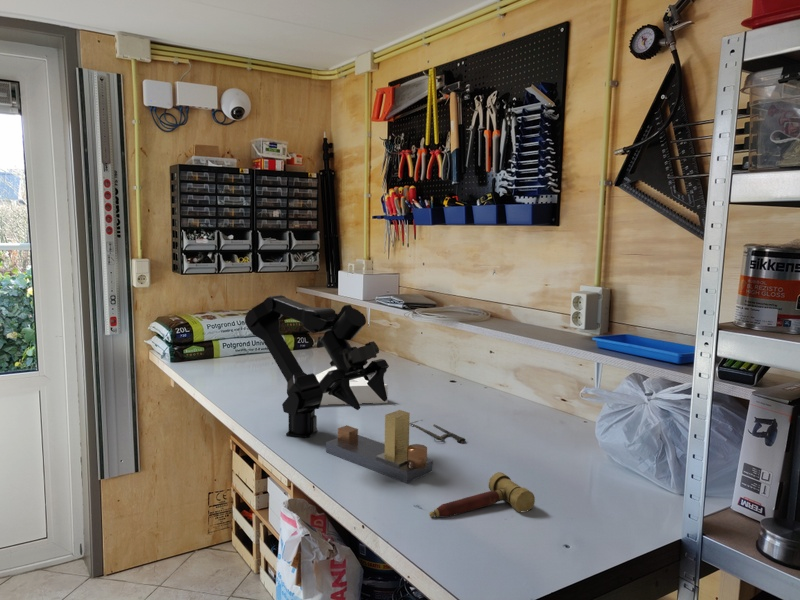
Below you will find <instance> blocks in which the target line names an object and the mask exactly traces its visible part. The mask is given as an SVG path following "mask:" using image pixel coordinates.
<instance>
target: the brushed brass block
mask: <svg viewBox="0 0 800 600" xmlns="http://www.w3.org/2000/svg"><path fill="white" fill-rule="evenodd" d="M384 417H385V418H384V444H385V458H388V459H390V460H393V461H396V460H398V459H400V458H403V457H405V456H407V447H408V446H409V445H410V424H409V423H410V417H411V416H410V412H407V411H404V410H401V409H399V410H396V411H393V412H389V413H386V414H385V416H384Z"/></svg>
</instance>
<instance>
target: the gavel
mask: <svg viewBox="0 0 800 600" xmlns="http://www.w3.org/2000/svg"><path fill="white" fill-rule="evenodd" d="M488 489H489V491H485V492H482V493H478V494H474V495H471V496H470V495H469V496H468V497H463V498H460V499H457V500H453V501H449V502H446V503H442V504H441V505H439V506H437V508H434V510H433V511H430V512H429V513H428V514H429V516H430V518H434V517H435V516H437V517H436V518H440V517H439V516H449V517H451V516H450V515H453V516H455V515H454V514H457V515H459V513H460V514H463V512H464V513H467V512H470V511H473V510H477V509H480V508H484V507H488V506H492V505H494V504H497V503H498V502H502V501H506V502H507V503H508V504H510V505H511V508H512V509H514V510H516V511H517V512H518V513H522V512H521V511H526V512H528V511H527V510H530V509H531V510H532V509H533V507H534V505H535V502H536V501H535V500H536V497H535V494H534V493H533V492H532V491H530V490H529V489H528V488H526V487H522V486H520V485H519V484H517V483H516V482H514V481H513V480H512V479H511V478H510V476H508V475H506V474H505V473H504V472H500V471H499V472H496V473H494V474H493V475H492V476H491V477H490V478H489V481H488ZM531 510H530V511H531Z"/></svg>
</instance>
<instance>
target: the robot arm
mask: <svg viewBox="0 0 800 600" xmlns="http://www.w3.org/2000/svg"><path fill="white" fill-rule="evenodd" d="M283 316H285V317H287V318H289V319H292V320H295V321H297V322H299V323H301V324H302V327H303V328H304V329H305V330H306V331H308V332H310V333H311V334H319V333H324V334H323V335H321V336H318V337H317V338H318V339H317V343H316V348H317V349H320V348H324V349H325V351H326V352H327V354H328V356H329V357H330V359H331V361H330V362H329V365H330V366H331V367H336V368H337V369H336V370H332V371H329V372H328V373H327V374H326V375H325V376H324V378H323V379H322V380H321V381H320V383H319V382H318V380H317V378H316V376H315V375H316V374H314V373H308V374H307V373H306V372H304V370H303V368H302V366H300V364H299V362H298V360H297V358H296V357H295V355H294V354H293V352H292V350H291V348H290V347H289V346H288V344H287V341H286V340H285V338H284V337H283V335H282V334H281V332H280V325H281V321H280V319H281V318H282V317H283ZM244 322H245V325H246V327H247V328H248V329H249V331H250V332H251V334H252V335H253V336H255V337H257V338H259V340H262V341H263V342H264V344H265V346H266V347H267V349H268V351H269V353H270V355H271V356H272V358H273V360H274V361H275V363H276V365H277V367H278V369H279V371H280V372H281V374H282V376H283V377H284V379H285V380H286V383H287V384H286V385H287V386H286V394H287V398H286V399H285V400H284V401H283V402H282V404H281V405H282V410H283V413H285V414H288V431H287V432H285V436H288V437H289V436H290V437H298V438H310V437H311V436H313V434H315V432H317V430H318V427H317V423H318V422H317V420H318V419H317V415H315V414H316V412H315V410H319V409H320V408H321V407H320V406H321V405H320V404H321V401H322V397H323V393H328V392H329V393H328V394H329V395H333V396H335V397H337V398H338V399H340V400H342V401H344V402H345V403H347V404H346V405H348V406H350V407H351V408H353V409H354V410H356V411H359V410H360V409H361V404H359V403H358V401H357V399H356V397H355V395H354V393H353V392H352V390H351V388H350V383H349V380H352V379H356V378H360V377H364V379H365V380H367V381H368V383H367V384H368V385H369V387H370V388H371V389H372V390H373V391H374V392H375V393H376V394H377V395H378V396H379V397H380V398H381V399H382V400H383V401H384V402H385V401H386V400H387V394H386V390H385V385H384V384H385V380H384V379H385V378H384V377H385V374H386V372H387V371H388V369H389V368H390V367H389V364H388V361H386V359H384V358H380V359H375V358H377V357H378V356H377V354H379V353H380V349H379V346H378V344H377V343H376V342H375V341H369V342H367V343H365V345H364V346H363V345H362V346H359V347H356V346H352V345H351V344H350V343H349V341H351V340H353V339H354V338H355V336H357V335H358V333H359V332H360V331H361V330H362V329H363V327H364V326H365V325H366V322H367V319H366V316H365V315H364V313H362V312H361V311H359V309H356V308H353V307H352V305H351V304H346V305H345V304H344V305H343V306H342V307H341V310H340V311H339V312H338V313H337V312H336V311H335V310H334V309H333V308H331V307H318V306H317V307H313V306H309V305H307V304H303V303H301V302H298V301H296V300H293V299H290V298H288V297H286V296H285V295H280V294H279V295H271V296H270V295H269V296H268V297H266V298H265V299H264V300H263V301H262V302H260V303H259V304H257V305H256V306H254V307H252V308H251V309H250V310H248V311H247V313H246V315H245V316H244ZM371 359H374V360H371ZM369 360H371V362H370V363H369V362H368V361H369ZM368 363H369V364H368ZM367 364H368V365H367ZM365 366H366V367H365Z"/></svg>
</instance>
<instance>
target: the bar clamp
mask: <svg viewBox="0 0 800 600" xmlns="http://www.w3.org/2000/svg"><path fill="white" fill-rule="evenodd" d="M419 421H422V419H420V420H417V421H412V422H409V427H412V428H416V429H418V430H420V431H422V432H424V433H426V434H427V435H429V436H431V437H432V438H434V439H433V440H434V441H436V443H444V442H445V440H446V439H445V438H447V437H451V438H452V439H454V440H456V442H457V443H459V444H463V443H466V442H467V440H466V438H465V437H462V436H459V435H457V434H455V433H453V432H450V431H449V430H447V429H445V428H443V427H440V426H439V425H436V424H433V425H432V426H433V427H434V428H435V429H438V430H439V431H441V432H443V433H444V434H442V435H441V436H440V435H437V434H436V433H433V432H431V431H430V430H427V429H425V428H423V427H422V426H419V425H417V424H416V423H417V422H419ZM412 425H413V426H412ZM435 439H436V440H435ZM438 440H439V441H438Z"/></svg>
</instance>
